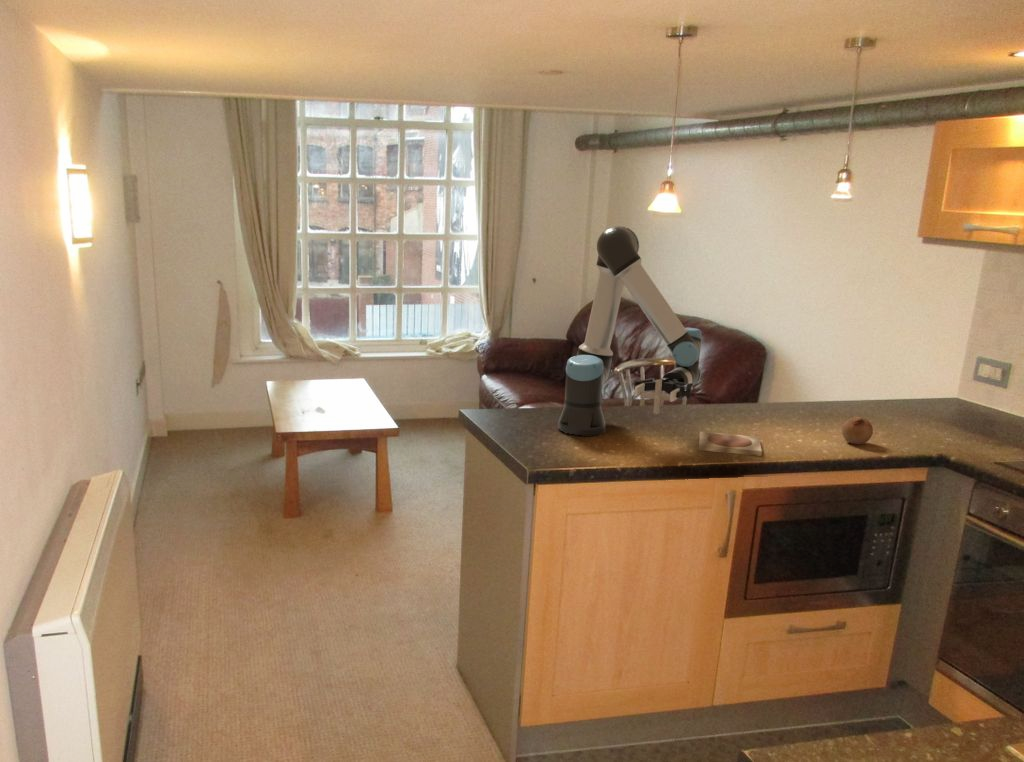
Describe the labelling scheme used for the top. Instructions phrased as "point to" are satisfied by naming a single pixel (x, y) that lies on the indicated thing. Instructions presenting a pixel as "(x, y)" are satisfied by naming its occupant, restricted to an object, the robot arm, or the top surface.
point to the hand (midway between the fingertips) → (653, 394)
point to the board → (730, 443)
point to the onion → (857, 430)
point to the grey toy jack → (656, 396)
